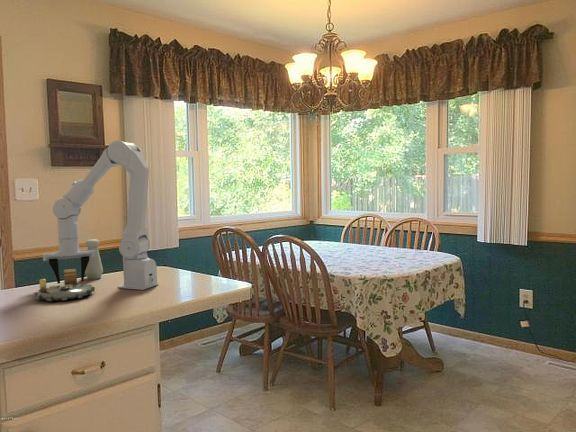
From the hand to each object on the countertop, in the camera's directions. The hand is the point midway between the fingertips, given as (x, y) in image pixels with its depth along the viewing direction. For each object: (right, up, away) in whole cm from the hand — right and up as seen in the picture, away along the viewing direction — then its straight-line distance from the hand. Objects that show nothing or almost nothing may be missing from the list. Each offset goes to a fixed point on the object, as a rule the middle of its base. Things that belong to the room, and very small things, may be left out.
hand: (70, 281), depth 152 cm
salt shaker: (+2, -1, +12) cm, 12 cm away
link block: (0, -2, 0) cm, 2 cm away
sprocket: (+4, -2, -13) cm, 14 cm away
